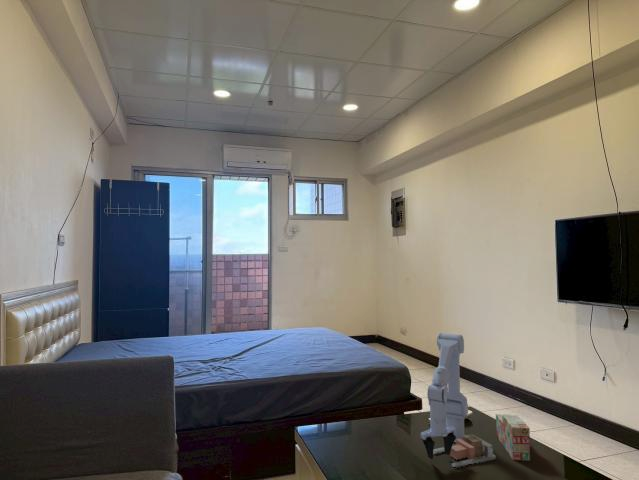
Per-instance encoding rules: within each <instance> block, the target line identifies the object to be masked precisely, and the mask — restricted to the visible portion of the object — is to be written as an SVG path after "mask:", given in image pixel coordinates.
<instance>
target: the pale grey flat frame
mask: <svg viewBox="0 0 639 480" xmlns="http://www.w3.org/2000/svg"><path fill="white" fill-rule="evenodd" d="M471 435H473V436H475V437H477V438H478V439H480V440H482V455H483V456H481V457H477V458H472V459H468V458H467V459H465V460H463V459H462V460H460V461H459V460H458V461H455V462H451V467H452V466H453V467H459V466H463V465H468V464H472V465H475V464H474V463H476V464H480V463H484V462H488V461H492V460H496V458H497V456H496V455H495V454H494V446H493V444H491V443H489V442H488V441H485V440H483V439H481V438H480V437H478V436H476V435H474V434H472V433H471ZM455 445H456V444H453V445H452V446H455ZM442 452H444V453H445V451H444V446H443V447H438V448H434V449H433V455H434V454H435V455H439V454H443V453H442ZM438 453H439V454H438ZM479 462H480V463H479ZM468 466H469V465H468ZM453 467H452V468H453ZM463 467H464V466H463ZM459 468H460V467H459Z"/></svg>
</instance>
